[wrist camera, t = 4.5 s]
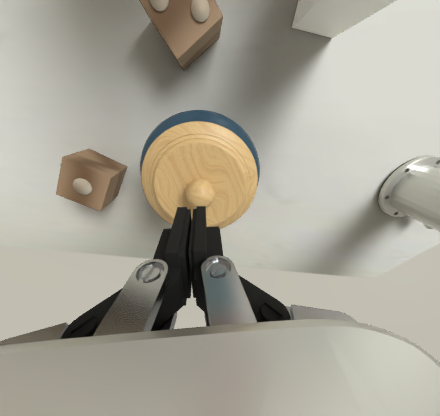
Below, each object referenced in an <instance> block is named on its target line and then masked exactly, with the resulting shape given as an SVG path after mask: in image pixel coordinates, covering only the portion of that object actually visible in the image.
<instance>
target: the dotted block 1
mask: <svg viewBox="0 0 440 416" xmlns="http://www.w3.org/2000/svg"><path fill="white" fill-rule="evenodd" d="M126 169H127V166H125V165H122V164H120V163H118V162H116V161H114V160H112V159H110V158H108V157H106V156H103V155H101V154H99V153H97V152H95V151H93V150H91V149H87V150H83V151H80V152H77V153H74V154H71V155H67V156H64V157H63V158H62V163H61V169H60V174H59V180H58V185H57V191H56V195H59V196H62V197H64V198H67V199H69V200H72V201H75V202H77V203H80V204H83V205H85V206H88V207H90V208H93V209H96V210H98V211H101V210H102V209H103V208H105V207H106V206H107V205H108V204H109V203H110V202H111V201H112V200H113V199H114V198H115V197H116V196H117V195H118V192H119V189H120V187H121V184H122V181H123V178H124V175H125V172H126Z"/></svg>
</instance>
